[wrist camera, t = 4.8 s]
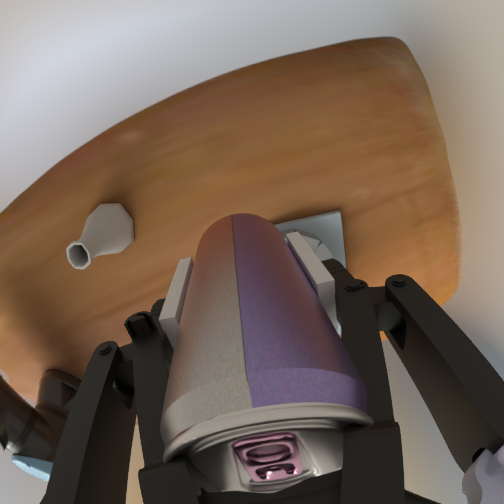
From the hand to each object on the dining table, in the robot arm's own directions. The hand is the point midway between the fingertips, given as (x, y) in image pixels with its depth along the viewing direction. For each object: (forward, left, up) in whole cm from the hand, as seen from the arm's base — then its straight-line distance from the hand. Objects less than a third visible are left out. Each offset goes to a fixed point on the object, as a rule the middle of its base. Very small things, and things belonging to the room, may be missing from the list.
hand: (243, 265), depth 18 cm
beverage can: (0, 0, -2) cm, 2 cm away
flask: (-17, +1, -19) cm, 26 cm away
